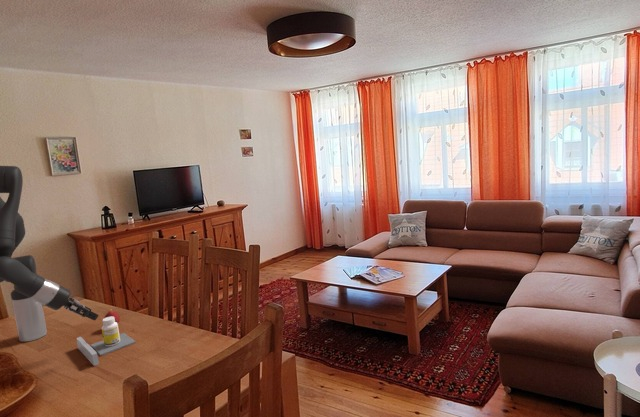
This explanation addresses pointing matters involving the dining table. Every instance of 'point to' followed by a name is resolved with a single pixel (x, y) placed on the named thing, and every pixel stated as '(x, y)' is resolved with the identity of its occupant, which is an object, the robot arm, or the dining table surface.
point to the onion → (114, 314)
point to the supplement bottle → (110, 331)
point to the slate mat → (103, 349)
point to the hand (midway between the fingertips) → (93, 314)
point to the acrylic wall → (87, 351)
